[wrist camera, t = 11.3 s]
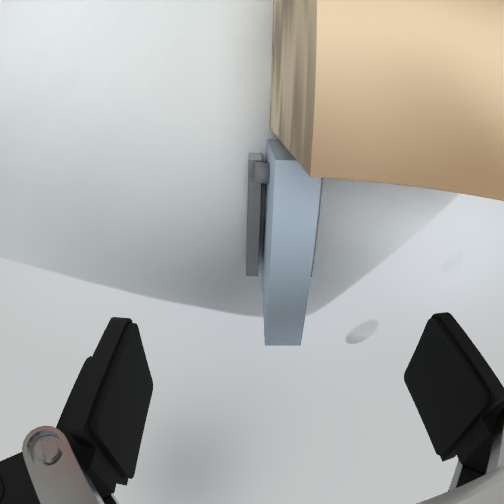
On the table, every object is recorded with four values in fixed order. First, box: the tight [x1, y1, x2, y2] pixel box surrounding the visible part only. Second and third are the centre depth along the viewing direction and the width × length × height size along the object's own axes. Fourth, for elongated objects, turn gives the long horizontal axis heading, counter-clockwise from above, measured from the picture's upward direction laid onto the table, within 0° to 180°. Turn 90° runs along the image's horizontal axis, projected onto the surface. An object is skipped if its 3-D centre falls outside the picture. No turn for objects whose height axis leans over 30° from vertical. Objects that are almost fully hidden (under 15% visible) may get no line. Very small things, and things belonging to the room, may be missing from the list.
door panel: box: [255, 140, 321, 345], centre depth 19 cm, size 10×3×9 cm, turn 179°
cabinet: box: [270, 0, 504, 201], centre depth 10 cm, size 12×16×16 cm
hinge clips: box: [246, 153, 323, 277], centre depth 21 cm, size 8×5×3 cm, turn 178°
